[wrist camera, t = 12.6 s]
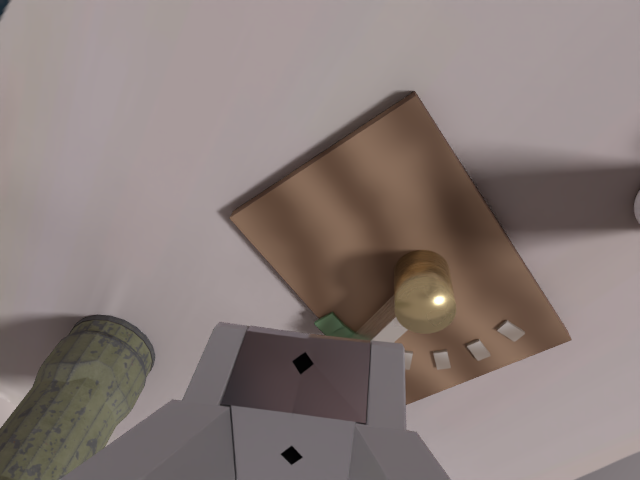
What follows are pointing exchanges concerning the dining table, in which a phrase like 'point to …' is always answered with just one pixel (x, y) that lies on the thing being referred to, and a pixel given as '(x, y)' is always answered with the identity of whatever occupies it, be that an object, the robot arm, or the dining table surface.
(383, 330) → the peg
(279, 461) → the robot arm
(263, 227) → the dial board
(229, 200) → the dining table surface
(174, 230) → the dining table surface
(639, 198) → the drinking glass
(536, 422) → the dining table surface
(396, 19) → the dining table surface
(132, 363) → the thermos
